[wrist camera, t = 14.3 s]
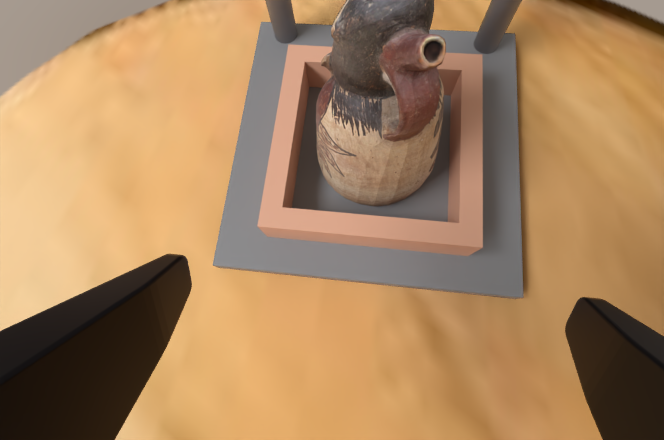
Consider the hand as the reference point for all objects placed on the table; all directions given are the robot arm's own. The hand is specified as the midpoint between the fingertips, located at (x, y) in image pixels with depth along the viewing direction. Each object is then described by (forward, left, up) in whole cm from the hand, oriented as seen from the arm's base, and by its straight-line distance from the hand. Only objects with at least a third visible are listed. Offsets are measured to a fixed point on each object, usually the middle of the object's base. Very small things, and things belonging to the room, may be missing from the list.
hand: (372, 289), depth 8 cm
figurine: (+8, -5, -13) cm, 16 cm away
